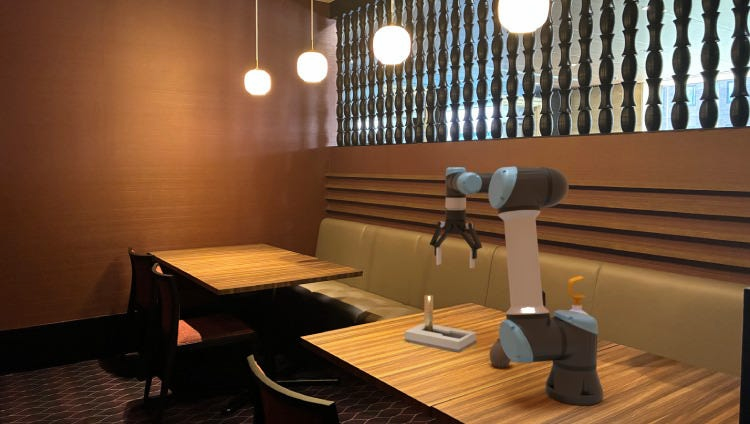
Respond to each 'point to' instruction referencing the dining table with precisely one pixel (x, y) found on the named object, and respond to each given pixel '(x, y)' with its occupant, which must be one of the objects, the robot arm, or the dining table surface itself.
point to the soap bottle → (575, 295)
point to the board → (441, 337)
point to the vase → (498, 355)
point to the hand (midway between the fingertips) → (455, 266)
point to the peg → (428, 313)
